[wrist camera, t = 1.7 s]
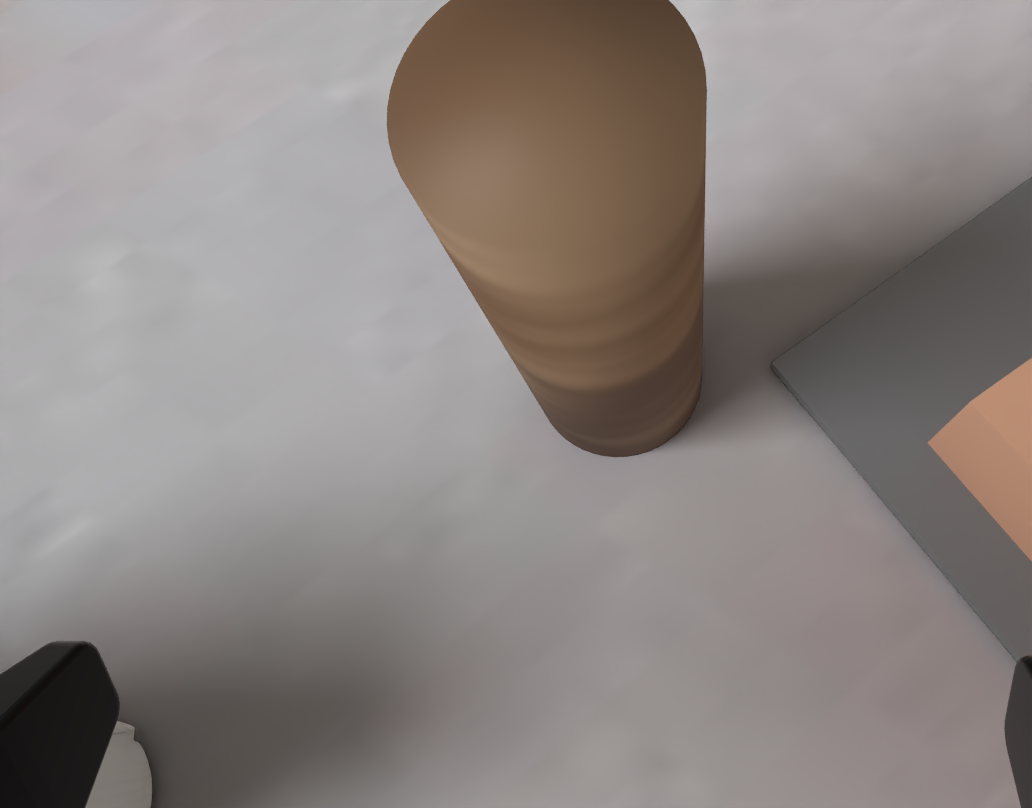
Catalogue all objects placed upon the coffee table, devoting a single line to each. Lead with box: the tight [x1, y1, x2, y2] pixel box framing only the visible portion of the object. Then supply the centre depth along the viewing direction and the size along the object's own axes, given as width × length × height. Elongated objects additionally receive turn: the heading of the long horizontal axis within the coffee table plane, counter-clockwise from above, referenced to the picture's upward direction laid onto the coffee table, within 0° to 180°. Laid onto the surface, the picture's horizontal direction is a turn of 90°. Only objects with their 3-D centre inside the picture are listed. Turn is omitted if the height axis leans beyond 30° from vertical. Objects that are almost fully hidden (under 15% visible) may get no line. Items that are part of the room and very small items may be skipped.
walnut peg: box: [387, 0, 707, 457], centre depth 17 cm, size 4×4×12 cm
